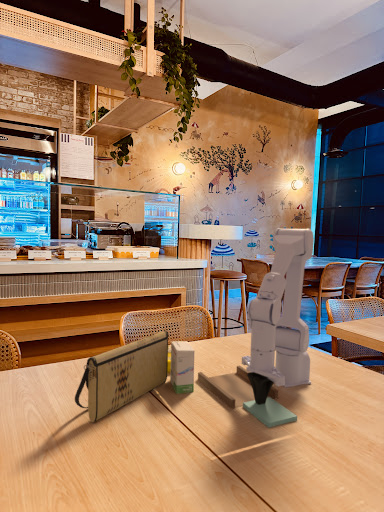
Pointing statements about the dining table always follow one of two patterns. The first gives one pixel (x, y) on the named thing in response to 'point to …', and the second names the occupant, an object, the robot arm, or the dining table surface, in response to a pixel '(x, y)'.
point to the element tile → (169, 359)
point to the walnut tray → (233, 387)
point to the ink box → (182, 367)
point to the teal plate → (270, 412)
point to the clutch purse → (124, 374)
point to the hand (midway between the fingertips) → (260, 402)
